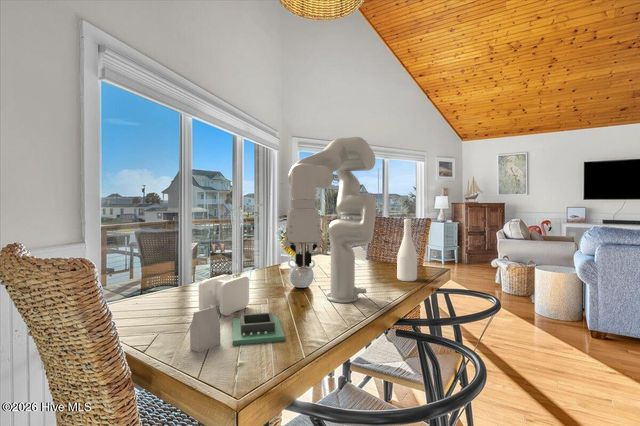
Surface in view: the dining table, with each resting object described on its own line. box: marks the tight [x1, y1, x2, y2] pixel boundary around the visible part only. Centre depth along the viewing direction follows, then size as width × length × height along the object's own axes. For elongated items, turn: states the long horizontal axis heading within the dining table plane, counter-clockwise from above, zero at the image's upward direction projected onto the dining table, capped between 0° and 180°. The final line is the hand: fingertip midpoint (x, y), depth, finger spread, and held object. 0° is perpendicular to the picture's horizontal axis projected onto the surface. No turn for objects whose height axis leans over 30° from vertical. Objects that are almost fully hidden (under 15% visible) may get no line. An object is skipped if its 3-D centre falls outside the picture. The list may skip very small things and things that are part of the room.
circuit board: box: [232, 312, 286, 346], centre depth 104 cm, size 14×18×4 cm
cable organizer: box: [198, 274, 250, 317], centre depth 123 cm, size 15×11×12 cm
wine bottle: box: [396, 218, 418, 282], centre depth 172 cm, size 10×10×30 cm
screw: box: [295, 243, 312, 278], centre depth 106 cm, size 13×5×5 cm
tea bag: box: [189, 306, 221, 353], centre depth 93 cm, size 4×7×10 cm, turn 145°
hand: (303, 265), depth 106 cm, fingers closed on screw, 2 cm apart
